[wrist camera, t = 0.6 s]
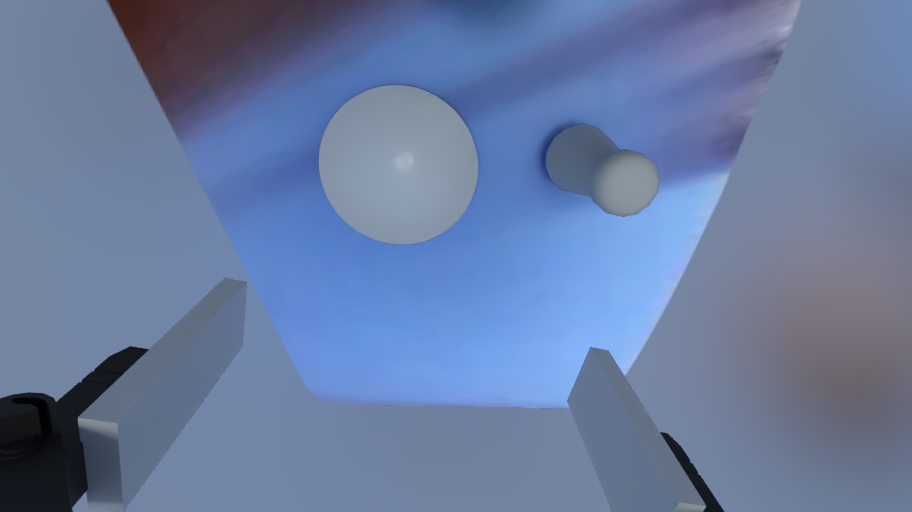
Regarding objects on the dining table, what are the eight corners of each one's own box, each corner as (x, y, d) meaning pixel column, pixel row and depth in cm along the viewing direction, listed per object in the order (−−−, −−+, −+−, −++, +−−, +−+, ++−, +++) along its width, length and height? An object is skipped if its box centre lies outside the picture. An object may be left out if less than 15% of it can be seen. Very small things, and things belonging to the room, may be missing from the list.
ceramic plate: (375, 48, 35) (373, 47, 34) (508, 149, 38) (510, 151, 37) (293, 186, 39) (289, 189, 38) (421, 265, 42) (420, 270, 41)
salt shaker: (560, 110, 37) (621, 123, 25) (614, 139, 38) (696, 165, 26) (528, 170, 39) (569, 209, 27) (579, 196, 40) (642, 244, 28)
